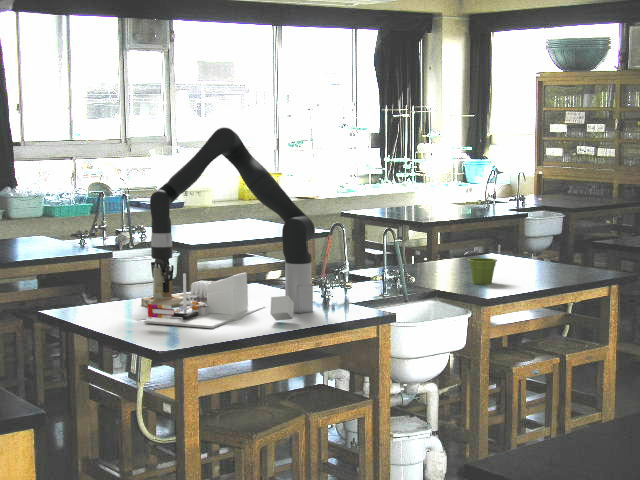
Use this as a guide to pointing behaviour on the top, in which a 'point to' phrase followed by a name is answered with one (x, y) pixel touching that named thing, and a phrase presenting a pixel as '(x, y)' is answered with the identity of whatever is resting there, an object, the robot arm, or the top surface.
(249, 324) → the top surface
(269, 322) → the top surface
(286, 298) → the grey cube
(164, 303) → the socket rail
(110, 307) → the top surface
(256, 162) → the robot arm
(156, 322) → the electronics kit
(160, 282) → the skincare box
